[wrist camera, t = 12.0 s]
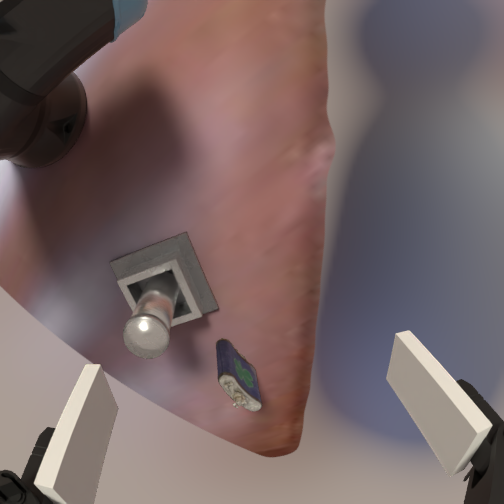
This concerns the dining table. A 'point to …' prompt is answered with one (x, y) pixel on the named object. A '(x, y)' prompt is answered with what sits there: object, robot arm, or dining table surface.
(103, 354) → the dining table surface
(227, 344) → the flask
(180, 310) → the duct collar
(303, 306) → the dining table surface
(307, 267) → the dining table surface
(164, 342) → the silver canister
